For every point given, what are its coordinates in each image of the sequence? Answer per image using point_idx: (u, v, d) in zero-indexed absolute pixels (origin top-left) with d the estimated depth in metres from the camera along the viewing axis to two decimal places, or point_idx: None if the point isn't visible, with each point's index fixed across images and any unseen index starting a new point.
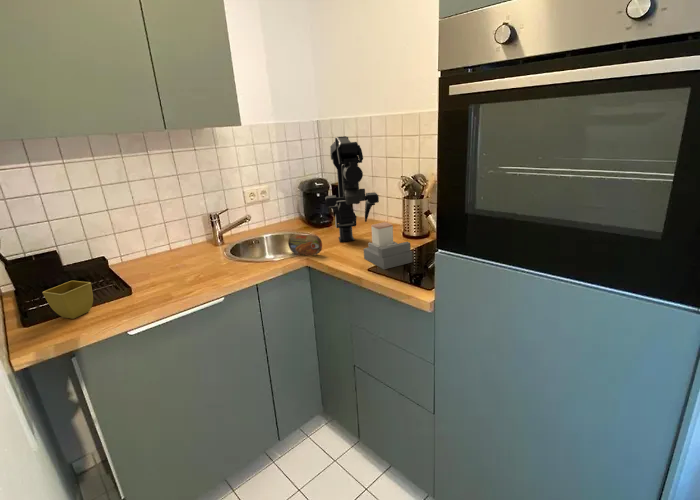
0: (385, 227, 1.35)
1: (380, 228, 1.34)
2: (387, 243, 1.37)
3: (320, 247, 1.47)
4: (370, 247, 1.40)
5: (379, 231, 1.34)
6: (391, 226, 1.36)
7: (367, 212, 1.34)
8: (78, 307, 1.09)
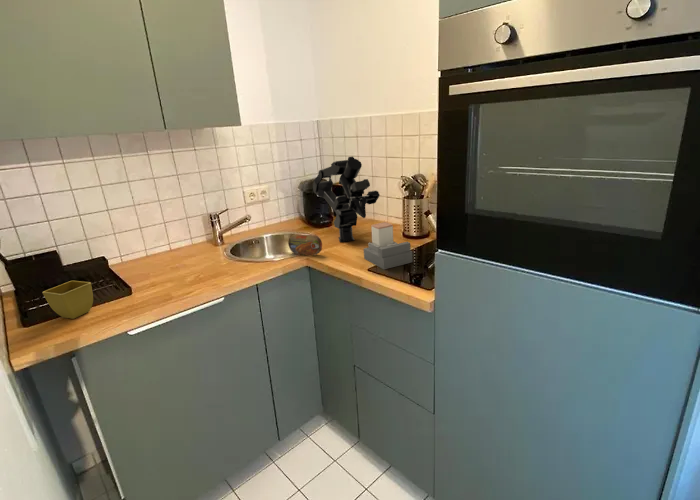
0: (385, 227, 1.35)
1: (380, 228, 1.34)
2: (387, 243, 1.37)
3: (320, 247, 1.47)
4: (370, 247, 1.40)
5: (379, 231, 1.34)
6: (391, 226, 1.36)
7: (364, 207, 1.48)
8: (78, 307, 1.09)
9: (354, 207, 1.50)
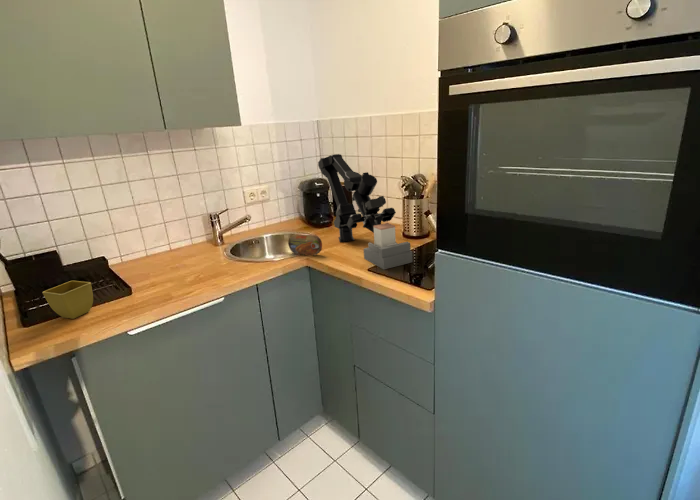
0: (387, 228, 1.34)
1: (382, 229, 1.33)
2: None
3: (320, 247, 1.47)
4: (370, 247, 1.40)
5: (382, 231, 1.33)
6: (393, 227, 1.35)
7: None
8: (78, 307, 1.09)
9: (369, 225, 1.42)
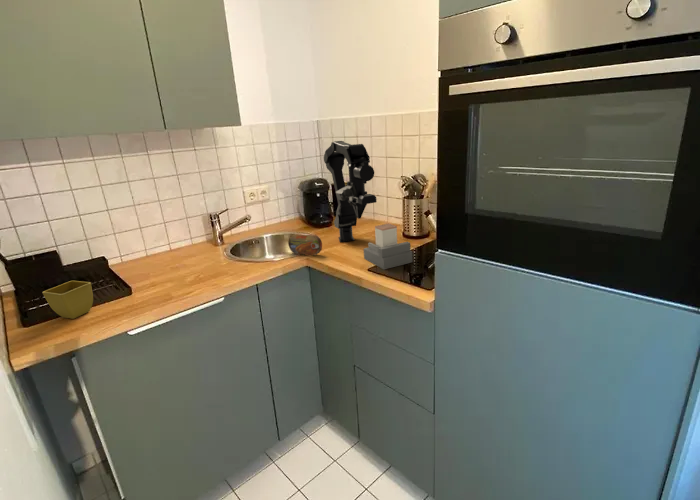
0: (389, 228, 1.33)
1: (384, 229, 1.32)
2: None
3: (320, 247, 1.47)
4: (370, 247, 1.40)
5: (383, 232, 1.32)
6: (395, 227, 1.34)
7: (356, 210, 1.46)
8: (78, 307, 1.09)
9: None
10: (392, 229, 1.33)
